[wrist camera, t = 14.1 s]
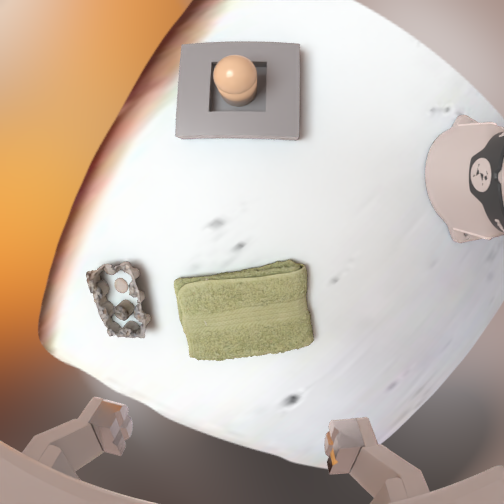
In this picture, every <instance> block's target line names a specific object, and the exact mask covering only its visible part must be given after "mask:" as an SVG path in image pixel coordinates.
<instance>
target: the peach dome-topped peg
mask: <svg viewBox="0 0 504 504" xmlns="http://www.w3.org/2000/svg"><path fill="white" fill-rule="evenodd" d="M213 78H214V82H215V84H216V86H217V88H218V90H219V92H220V94H221V96H222V98H223V100H224V101H225V102H226V103H227V104H229V105H231V106H235V107H241V106H245V105H248V104H249V103H251V102H252V101H253V100H254V98H255V97H256V94H257V70H256V67H255V65H254V64H253V62H252V61H251V60H250V59H248V58H246V57H244V56H241V55H229V56H226V57H224V58H223V59H221V60H220V61H219V62H218V63H217V65H216V66H215V68H214V72H213Z"/></svg>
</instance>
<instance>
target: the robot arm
mask: <svg viewBox="0 0 504 504" xmlns="http://www.w3.org/2000/svg"><path fill="white" fill-rule="evenodd" d="M425 181H426V188H427V192H428V196H429V199H430V201H431V204H432V206H433V208H434V209H435V211H436V212H437V214H438V215H439V216H440V217H441V218H442V219H443V221H444V222H445V223H446V224H447V226H448V229H449V232H450V235H451V237H452V239H453V241H455V242H458V243H463V242H468V241H473V240H478V239H487V240H491V239H492V237H497V236H501V235H504V128H503V127H500V126H497V124H496V123H494V122H485V123H478V122H477V121H475V120H473V119H472V118H470V117H468V116H466V115H460V116H458V117H457V119H456V120H455V122H454V124H453V126H452V127H451V128H450V129H449V130H447V131H445V132H443V133H442V134H441V135H439V136H438V137H437V138H436V140H435V141H434V142H433V144H432V146H431V148H430V150H429V153H428V156H427V160H426V166H425ZM464 233H465V235H464ZM128 412H129V409H128V406H127V405H125V404H122V403H118V402H114V401H110V400H106V399H102V398H99V397H93V398H92V399H91V400H90V402H89V403H88V405H87V406H86V408H85V409H84V411H83V412H82V413H81V415H80V416H79V418H78V419H73V420H71V421H68V422H66V423H64V424H62V425H59V426H57V427H55V428H52V429H50V430H47V431H45V432H43V433H40V434H38V435H36V436H34V437H33V438H32V440H31V441H30V442H29V444H28V445H27V447H26V448H25V449H24V451H23V452H22V453H21V452H19V451H17V450H16V449H14V448H11V447H10V446H9V445H7V444H5V443H4V442H2V441H0V504H157V503H153V502H149V501H145V500H141V499H136V498H133V497H129V496H125V495H122V494H119V493H116V492H112V491H109V490H106V489H103V488H100V487H97V486H94V485H92V484H89V483H86V482H84V481H81V480H80V479H79V477H78V476H77V474H76V473H75V471H76V470H78V469H79V468H81V467H82V466H84V465H86V464H87V463H89V462H90V461H92V460H93V459H94V458H96V457H97V456H99V455H100V454H102V453H103V451H104V452H108V453H111V454H115V455H119V456H121V455H122V453H123V451H124V449H125V447H126V443H125V440H127V439H128V438H130V436H131V434H132V429H133V424H132V419H131V417H130V416H129V415H128ZM328 427H329V432H328V433H326V437H325V444H324V446H325V454H326V455H327V456H328V457H329V458H328V461H327V465H328V471H329V474H341V473H350V475H351V476H352V477H353V478H354V479H355V480H357V482H358V483H359V484H360V485H361V486H362V487H363V488H364V489H365V490H366V491H368V493H369V494H371V495H372V496H373V497H374V499H373V500H372V502H371V503H370V504H504V466H495V467H492V468H490V469H488V470H486V471H484V472H481V473H480V474H477V475H475V476H472V477H470V478H468V479H465V480H462V481H460V482H458V483H455V484H452V485H449V486H447V487H444V488H441V489H438V490H435V491H432V492H430V491H429V489H428V487H427V484H426V482H425V479H424V477H423V474H422V472H421V470H419V469H417V468H416V467H414V466H413V465H411V464H410V463H408V462H407V461H405V460H404V459H402V458H401V457H399V456H398V455H396V454H395V453H393V452H392V451H390V450H389V449H388V448H386V447H385V446H383V445H382V444H380V445H378V443H377V440H376V437H375V434H374V432H373V429H372V426H371V424H370V421H369V419H368V418H367V417H362V418H351V419H340V420H331V421H330V423H329V426H328Z"/></svg>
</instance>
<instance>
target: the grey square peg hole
mask: <svg viewBox="0 0 504 504" xmlns="http://www.w3.org/2000/svg"><path fill="white" fill-rule="evenodd" d="M229 55H241V56H244V57H246V58H248V59H250V60H251V61H252V62H253V64H254V65H255V67H256V70H257V94H256V97H255V98H254V100H253V101H252V102H251V103H249V104H248V105H245V106H241V107H235V106H231V105H229V104H227V103H226V102H225V101H224V100H223V98H222V96H221V94H220V92H219V90H218V88H217V86H216V84H215V82H214V78H213V72H214V68H215V66H216V65H217V63H218V62H219V61H220V60H221V59H223V58H224V57H226V56H229ZM299 116H300V44H295V43H279V42H211V43H195V44H184V45H182V48H181V58H180V69H179V81H178V95H177V111H176V131H175V136H176V137H178V138H181V139H199V138H251V139H279V140H297V139H298V138H299Z"/></svg>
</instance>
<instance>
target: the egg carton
mask: <svg viewBox="0 0 504 504" xmlns="http://www.w3.org/2000/svg"><path fill="white" fill-rule="evenodd" d="M103 269H104V271H105V272H106V273H107V274H110V275H114V274H115V273H117V272H118V271H119V270H121V269H123V271H124V272H125V273H128V274H129V275H131V277H132V282H131V283H130V284H129V291H130V293H129V295H131V296H132V297H138V300H137V303H139V304H137V306H136V307H135V308H134V306H133V304H132V303H131V302H130V301H128V300H123V301H122V302H121V303H119V304H118V305H117V306H116V307H115V308H114V306H113V304H112V303H111V302H109V301H107V299H106V297H105V295H106V294H107V293H108V291H109V286H108V284H107V283H106V282H105V281H104V280H101V278H100V273H101V272H102V271H103ZM139 276H140V272H139V269H137V268H134V267H132V266H131V264H130V262H123V263H121V264H120V265H118V266H114V267H113V266H112V265H109V264H104V265H102V266H101V267H99V268H98V269H97V270H92V271H88V272H87V274H86V277H87V283H88V286H89V289H90V292H91V293H93V296H94V302H95V303H96V305H97V308H98V312H99V315H100V317H101V319H102V321H103V322H104V325H105V326H106V327H107V328H108V329H107V333H108V334H109V336H113V335H116V336H117V337H130V338H135V337H139V338H145V327H146V326H147V324H148V323H149V322H150V320H151V318H150V314H148V313H145V312H144V311H142V309H141V303H142V301H143V300H144V299H145V294H144V292H143V291H140V290H138V288H137V285H136V282H135V279H136V278H138V277H139ZM115 288H116V290H117V291H118V292H120V293H125V292H126V291H127V290H128V284H127V282H126V281H125V280H124V279H123V278H118V279H116V280H115ZM133 311H134V317H135V318H136V319H137V320H139V322H142V324H141V326H140V327H139V325H138V324H137V323H136V322H134V321H128V322H127V323H126V324H125V326H124V327H123V328H121V327H120V326H119V324H118V323H116V322H114V321H112V318H111V316H112V315H113V313H115V315H116V317H117V318H119V319H120V320H124V321H125V320H126V319H128V318H129V316H130V315H131V314H132V313H133Z"/></svg>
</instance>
